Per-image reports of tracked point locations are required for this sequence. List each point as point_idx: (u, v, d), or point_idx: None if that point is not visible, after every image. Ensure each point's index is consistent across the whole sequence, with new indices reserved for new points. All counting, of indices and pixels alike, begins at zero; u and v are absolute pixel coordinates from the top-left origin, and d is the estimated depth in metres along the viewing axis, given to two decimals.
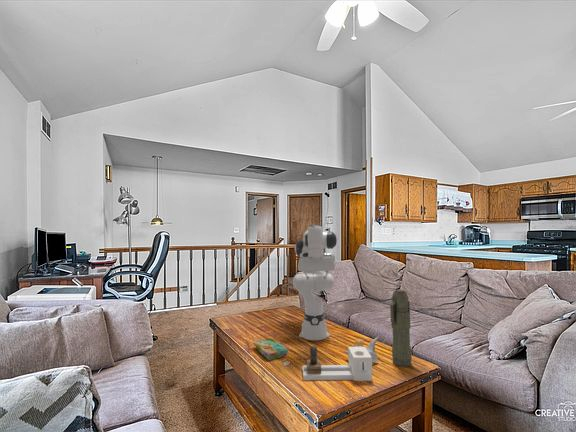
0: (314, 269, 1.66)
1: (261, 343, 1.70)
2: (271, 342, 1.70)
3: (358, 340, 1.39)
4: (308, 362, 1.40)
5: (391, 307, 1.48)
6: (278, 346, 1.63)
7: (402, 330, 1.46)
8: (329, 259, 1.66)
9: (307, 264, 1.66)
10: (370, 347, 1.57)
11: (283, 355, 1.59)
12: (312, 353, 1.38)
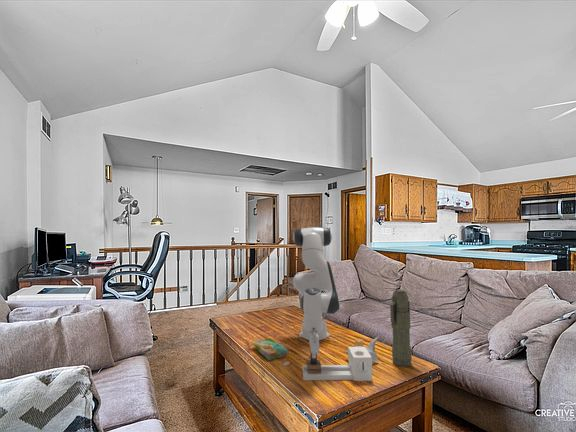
0: (309, 342, 1.41)
1: (260, 343, 1.69)
2: (270, 342, 1.70)
3: (358, 340, 1.39)
4: (308, 362, 1.40)
5: (391, 307, 1.48)
6: (278, 346, 1.63)
7: (402, 330, 1.46)
8: (310, 337, 1.33)
9: None
10: (370, 347, 1.57)
11: (283, 355, 1.59)
12: None
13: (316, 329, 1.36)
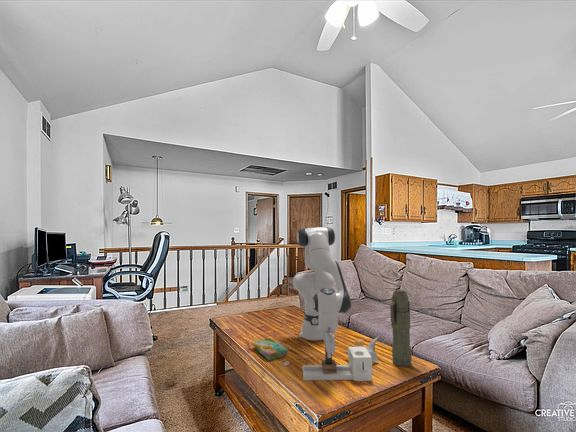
0: (324, 342, 1.41)
1: (260, 343, 1.69)
2: (270, 342, 1.70)
3: (358, 340, 1.39)
4: (323, 362, 1.40)
5: (391, 307, 1.48)
6: (278, 346, 1.63)
7: (402, 330, 1.46)
8: (326, 337, 1.33)
9: (323, 333, 1.45)
10: (370, 347, 1.57)
11: (283, 355, 1.59)
12: None
13: (331, 329, 1.36)
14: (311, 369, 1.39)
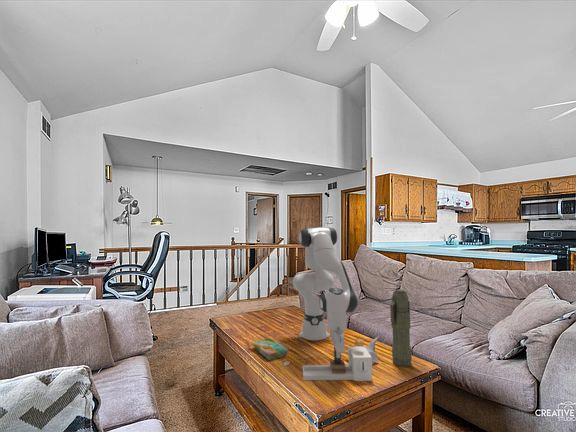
0: None
1: (260, 343, 1.69)
2: (270, 342, 1.70)
3: (358, 340, 1.39)
4: (332, 362, 1.40)
5: (391, 307, 1.48)
6: (278, 346, 1.63)
7: (402, 330, 1.46)
8: (335, 337, 1.33)
9: (332, 333, 1.45)
10: (370, 347, 1.57)
11: (283, 355, 1.59)
12: None
13: (340, 329, 1.36)
14: (311, 369, 1.39)
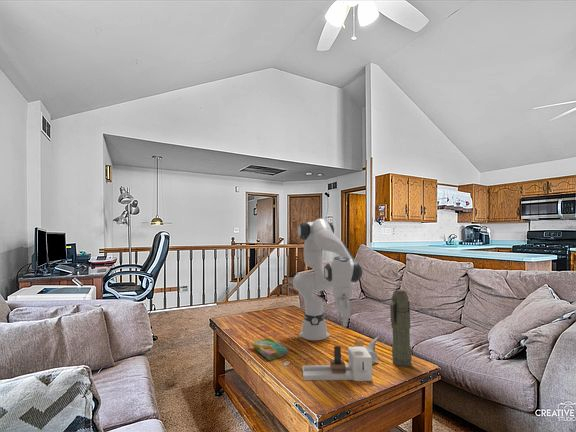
0: (338, 310, 1.41)
1: (259, 343, 1.69)
2: (270, 342, 1.70)
3: (358, 340, 1.39)
4: (332, 362, 1.40)
5: (391, 307, 1.48)
6: (277, 346, 1.64)
7: (402, 330, 1.46)
8: (341, 302, 1.33)
9: (337, 302, 1.45)
10: (370, 347, 1.57)
11: (283, 355, 1.60)
12: (336, 353, 1.38)
13: (346, 295, 1.36)
14: (311, 369, 1.39)
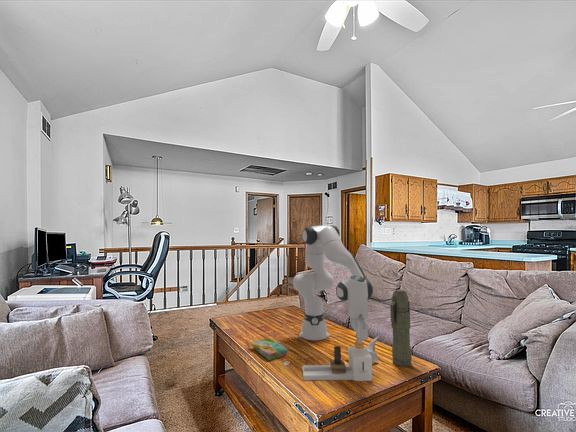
0: (354, 330, 1.41)
1: (259, 343, 1.69)
2: (269, 342, 1.70)
3: None
4: (332, 362, 1.40)
5: (391, 307, 1.48)
6: (277, 346, 1.64)
7: (402, 330, 1.46)
8: (358, 323, 1.33)
9: (353, 321, 1.45)
10: (370, 347, 1.57)
11: (283, 355, 1.60)
12: (336, 353, 1.38)
13: (363, 316, 1.36)
14: (311, 369, 1.39)
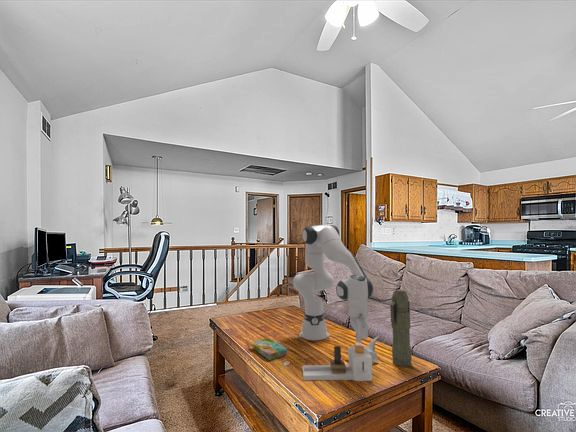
0: (354, 328, 1.41)
1: (259, 343, 1.69)
2: (269, 342, 1.70)
3: (358, 347, 1.39)
4: (332, 362, 1.40)
5: (391, 307, 1.48)
6: (277, 346, 1.64)
7: (402, 330, 1.46)
8: (358, 323, 1.33)
9: (352, 320, 1.45)
10: (370, 347, 1.57)
11: (283, 354, 1.60)
12: (336, 353, 1.38)
13: (363, 315, 1.36)
14: (311, 369, 1.39)
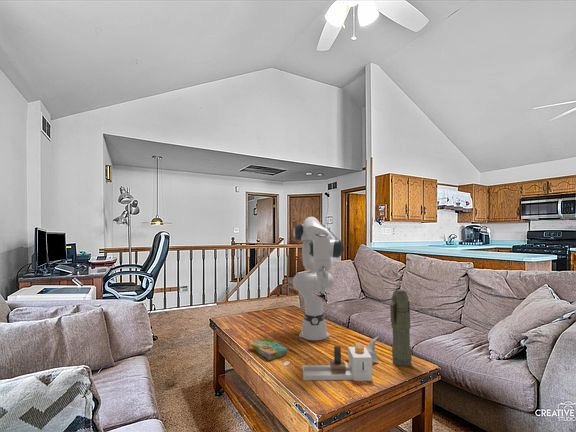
0: None
1: (258, 343, 1.69)
2: (268, 342, 1.70)
3: (358, 347, 1.39)
4: (332, 362, 1.40)
5: (391, 307, 1.48)
6: (277, 346, 1.64)
7: (402, 330, 1.46)
8: (320, 273, 1.47)
9: (318, 275, 1.59)
10: (370, 347, 1.57)
11: (283, 354, 1.60)
12: (336, 353, 1.38)
13: (325, 268, 1.50)
14: (311, 369, 1.39)
